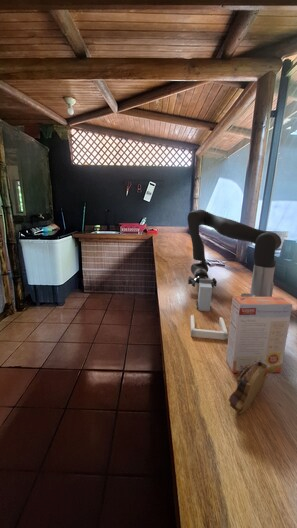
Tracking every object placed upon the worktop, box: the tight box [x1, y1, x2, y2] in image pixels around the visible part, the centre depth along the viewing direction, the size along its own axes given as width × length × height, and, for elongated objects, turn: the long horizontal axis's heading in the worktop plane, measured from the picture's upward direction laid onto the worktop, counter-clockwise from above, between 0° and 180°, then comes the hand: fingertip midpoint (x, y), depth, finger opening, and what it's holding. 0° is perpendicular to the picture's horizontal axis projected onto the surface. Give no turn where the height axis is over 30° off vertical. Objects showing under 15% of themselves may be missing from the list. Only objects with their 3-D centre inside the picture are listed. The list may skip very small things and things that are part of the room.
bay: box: [189, 314, 229, 341], centre depth 88 cm, size 12×12×2 cm
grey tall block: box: [196, 278, 213, 312], centre depth 106 cm, size 6×7×12 cm
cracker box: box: [225, 296, 293, 374], centre depth 66 cm, size 14×6×21 cm, turn 92°
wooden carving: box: [228, 362, 269, 415], centre depth 55 cm, size 16×5×10 cm, turn 139°
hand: (203, 285), depth 116 cm, fingers open, 8 cm apart
